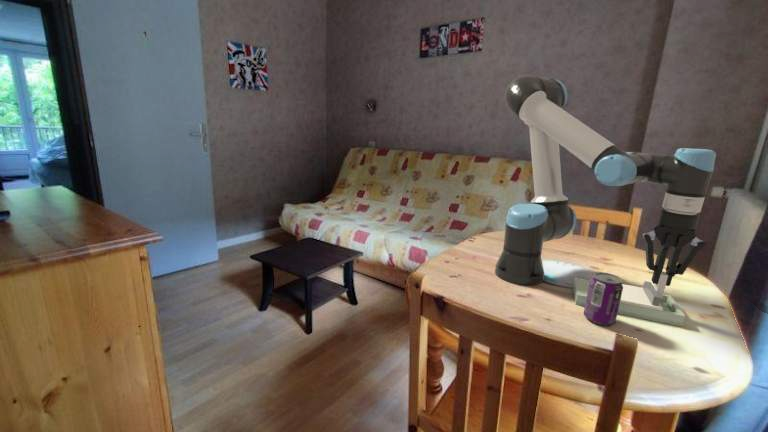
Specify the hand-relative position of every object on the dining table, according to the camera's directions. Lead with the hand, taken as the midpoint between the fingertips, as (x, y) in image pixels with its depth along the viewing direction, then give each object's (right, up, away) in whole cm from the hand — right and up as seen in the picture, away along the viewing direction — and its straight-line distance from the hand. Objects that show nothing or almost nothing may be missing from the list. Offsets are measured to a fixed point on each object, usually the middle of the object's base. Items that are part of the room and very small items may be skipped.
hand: (657, 294), depth 93 cm
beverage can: (-18, -6, -4) cm, 19 cm away
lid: (-6, -1, +3) cm, 7 cm away
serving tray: (-7, -4, +4) cm, 9 cm away
